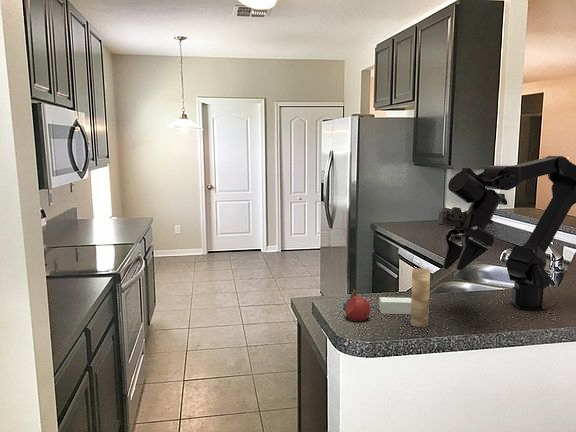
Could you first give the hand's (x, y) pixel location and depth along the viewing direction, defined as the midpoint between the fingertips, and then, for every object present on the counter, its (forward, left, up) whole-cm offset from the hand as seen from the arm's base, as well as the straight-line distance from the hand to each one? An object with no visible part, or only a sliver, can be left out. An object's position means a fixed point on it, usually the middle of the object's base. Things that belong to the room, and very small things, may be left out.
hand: (451, 269), depth 118 cm
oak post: (+8, +5, -12) cm, 15 cm away
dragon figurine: (+21, -6, -13) cm, 25 cm away
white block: (+12, -4, -12) cm, 18 cm away
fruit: (+21, +1, -12) cm, 25 cm away
